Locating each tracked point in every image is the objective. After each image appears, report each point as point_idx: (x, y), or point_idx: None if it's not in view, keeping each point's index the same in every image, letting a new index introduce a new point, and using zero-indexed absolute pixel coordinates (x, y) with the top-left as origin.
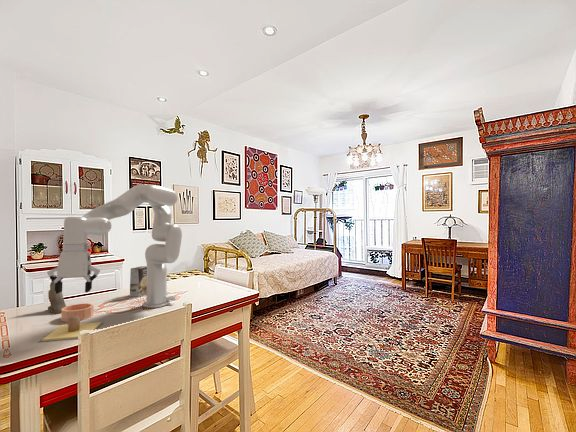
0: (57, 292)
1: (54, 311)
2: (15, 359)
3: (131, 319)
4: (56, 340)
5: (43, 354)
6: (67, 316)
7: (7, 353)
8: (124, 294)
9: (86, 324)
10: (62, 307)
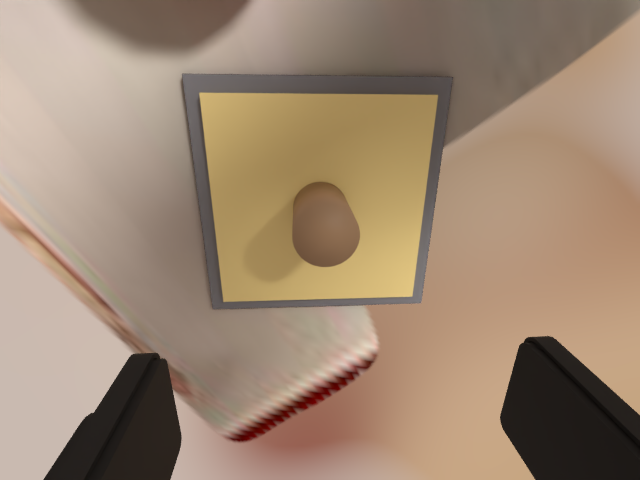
0: (171, 454)
1: None
2: (228, 410)
3: (611, 21)
4: (288, 301)
5: (301, 392)
6: None
7: None
8: None
9: (356, 119)
10: None
